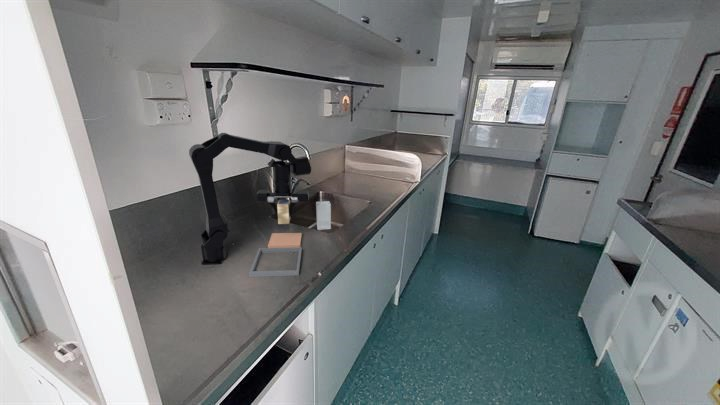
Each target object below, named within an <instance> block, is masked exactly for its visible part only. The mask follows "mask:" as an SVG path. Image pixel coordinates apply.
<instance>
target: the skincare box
mask: <svg viewBox="0 0 720 405" xmlns="http://www.w3.org/2000/svg"><path fill="white" fill-rule="evenodd" d="M315 207H316V208H315V212H316V213H315V214H316V228H317V230H318V231H321V230H331V229H332V209H331V208H332V204H331V202H330V201H329V200H323V201H316V202H315Z"/></svg>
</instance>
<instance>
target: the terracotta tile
mask: <svg viewBox="0 0 720 405" xmlns="http://www.w3.org/2000/svg"><path fill="white" fill-rule="evenodd" d="M302 238H303V233H302V232H281V233H280V232H279V233H278V232H277V233H276V232H275V233H273V232H272V233H271V235H270V238H269V241H268V245H267V248H287V247H301V244H302Z"/></svg>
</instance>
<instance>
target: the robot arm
mask: <svg viewBox="0 0 720 405" xmlns="http://www.w3.org/2000/svg"><path fill="white" fill-rule="evenodd" d="M229 148H232V149H238V150H243V151H248V152H254V153H259V154H264V155H266V156H268V157H272V158H271V160H270V161H269V162H268V163H267V166H268V167H270V168H273V180H272V181H273V182H272V186H273V188H274V192H270V189H259V190H258V191H257V193H256V194H255V200H256V201H255V202H266V204H269V205H270V206H271V208H272V209H273V211H274V212H275V214H276V216H277V217H278V210H277V204H278V199H284V198H285V199H290V209H289V217H290V218H291V216H292V213H293V210H294V208H295V205H296V204H297V205H298V204H299V203H300V202H304V203H305V202H306V203H307V202H309V199H310V191H309V190H308V189H298V191H297V192H293V186H292V185H293V184H292V183H293V182H292V180H291V174H292V175H293V176H294V177H298V176H299V177H300V176H307V175H311V173H312V166H311V162H310V160H309V157H307V156H301V157H295V155H294V154H293V152H292V148H291V146H290V145H288V144H286V143H284V142H281V141H275V140H274V141H272V140H271V141H262V140H256V139H252V138H248V137H244V136H243V137H242V136H240V135H239V136H238V135H234V134H229V133H227V132H221V133H219V134H218V135H216V136H214V137H212V138H210V139H207V140H206V141H203V142H202V143H201V144H199V143H197V144H196V143H195V144H194V145H192V146H191V147H190V148H189V150H188V155H189V157H190V160H191V162H192V164H193V167H194V169H195V172H196V173H197V175H198V180H199V185H200V189H201V190H200V191H201V194H202V199H203V204H204V207H205V209H204V210H205V213H206V217H205V230H203V232H202V233H201V234H200V235H199V237H200V240H201V245H200V249H201V255H202V261H201V265H222V263H223V262H224V260H225V259H226V256H227V251H226V250H227V249H226V245H224V241H225V240H226V239H227V238H228V235H229V233H230V230H229V228H228V227H229V226H228V224H229V223H228V220H227V217H226V216H225V215H224V214H222V215H221V213H220V209H219V203H218V200H217V199H218V198H217V193H216V187H215V182H214V179H213V172H214V159H215V158H217V157H218V156H219V155H221V154H222V153H223V152H225V150H226V149H229ZM273 158H274V159H273ZM275 159H277V160H275ZM286 161H287V162H286Z"/></svg>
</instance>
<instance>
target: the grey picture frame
mask: <svg viewBox="0 0 720 405" xmlns="http://www.w3.org/2000/svg"><path fill="white" fill-rule="evenodd" d="M302 248H303V247H301V246H300V247H287V248H268V247H259V248H258V249H257V251H256V254H255V256H254V259H253V261H252V264H251V267H250V270H249V272H248V275H249V277H250V278H255V277H256V278H257V277H285V276H287V277H288V276H289V277H291V276H292V277H294V276H299V275H300V268H301V262H302V261H301V260H302V253H303V249H302ZM292 252H293V253H298V254H297V255H298V256H297V263H296V269H294V270H290V269H288V270H287V269H286V270H255V269H256V267H257V265H258V262H259V260H260V257H261V254H263V253H292Z"/></svg>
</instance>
